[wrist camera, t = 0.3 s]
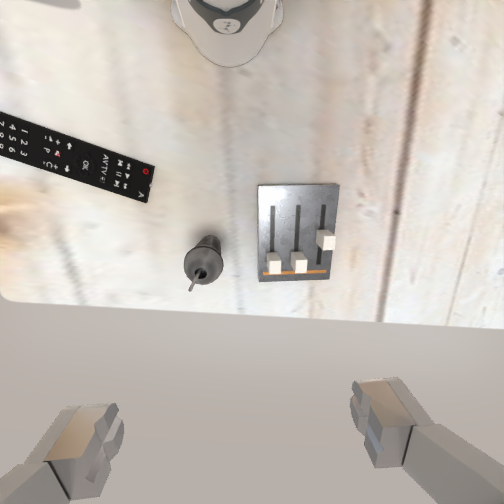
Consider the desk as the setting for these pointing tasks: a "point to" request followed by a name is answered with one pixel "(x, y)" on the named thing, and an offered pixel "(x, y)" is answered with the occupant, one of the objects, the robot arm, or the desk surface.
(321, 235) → the block
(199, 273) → the beverage cup
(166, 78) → the desk surface
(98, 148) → the remote control
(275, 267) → the block
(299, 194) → the grey slider panel
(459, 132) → the desk surface
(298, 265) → the block
